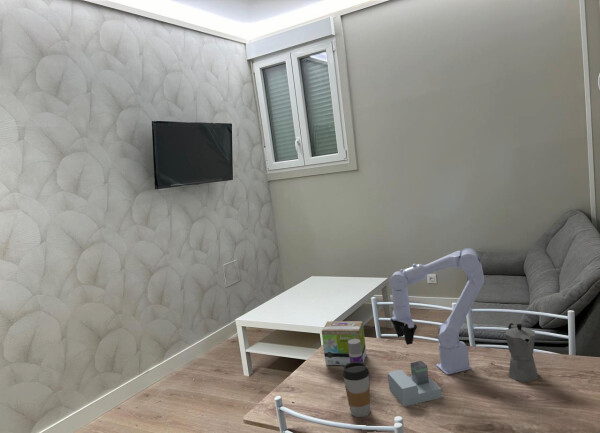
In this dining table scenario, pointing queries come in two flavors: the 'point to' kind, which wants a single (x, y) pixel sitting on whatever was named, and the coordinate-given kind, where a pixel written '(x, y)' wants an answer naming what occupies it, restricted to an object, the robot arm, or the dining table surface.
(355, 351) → the container
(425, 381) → the column
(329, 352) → the tea box
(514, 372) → the coffeepot
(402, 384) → the stepped stand
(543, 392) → the dining table surface
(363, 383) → the coffee cup
